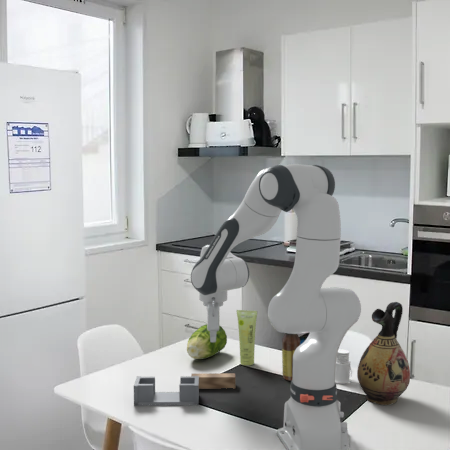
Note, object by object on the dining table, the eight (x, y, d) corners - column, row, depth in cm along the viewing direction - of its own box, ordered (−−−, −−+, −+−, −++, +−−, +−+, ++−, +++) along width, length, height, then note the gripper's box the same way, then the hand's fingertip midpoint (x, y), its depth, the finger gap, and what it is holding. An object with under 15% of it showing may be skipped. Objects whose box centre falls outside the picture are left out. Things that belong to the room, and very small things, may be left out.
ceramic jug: (388, 414, 175) (392, 311, 172) (346, 398, 187) (348, 301, 184) (422, 399, 186) (426, 302, 183) (380, 385, 198) (383, 294, 195)
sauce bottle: (301, 375, 206) (302, 317, 204) (301, 382, 200) (302, 322, 198) (281, 374, 207) (282, 317, 205) (281, 381, 201) (282, 322, 199)
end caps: (198, 394, 189) (198, 376, 188) (198, 405, 181) (198, 385, 180) (137, 395, 189) (136, 376, 188) (133, 405, 181) (133, 385, 180)
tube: (243, 367, 215) (243, 312, 212) (236, 362, 219) (236, 309, 217) (256, 364, 217) (257, 310, 215) (249, 360, 222) (250, 307, 220)
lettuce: (177, 364, 218) (177, 333, 216) (202, 348, 237) (202, 319, 235) (207, 368, 213) (207, 336, 212) (229, 351, 232) (229, 322, 231)
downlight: (334, 385, 198) (336, 355, 197) (324, 378, 204) (326, 348, 203) (356, 383, 200) (358, 353, 199) (345, 376, 207) (347, 347, 206)
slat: (234, 385, 198) (235, 373, 198) (235, 389, 194) (235, 377, 194) (191, 385, 198) (191, 373, 197) (191, 389, 194) (191, 377, 194)
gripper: (224, 302, 183) (223, 347, 184) (222, 287, 203) (222, 328, 205) (202, 302, 183) (202, 347, 184) (203, 287, 203) (203, 328, 205)
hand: (213, 337), depth 195 cm, fingers open, 8 cm apart
